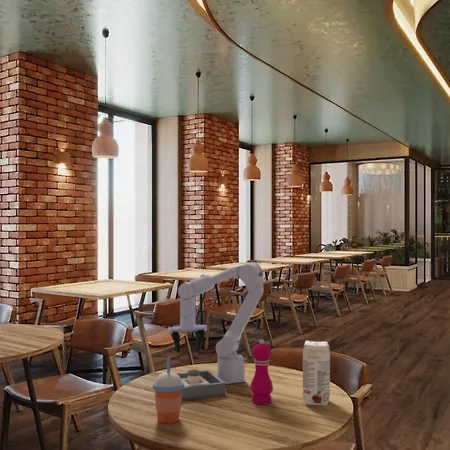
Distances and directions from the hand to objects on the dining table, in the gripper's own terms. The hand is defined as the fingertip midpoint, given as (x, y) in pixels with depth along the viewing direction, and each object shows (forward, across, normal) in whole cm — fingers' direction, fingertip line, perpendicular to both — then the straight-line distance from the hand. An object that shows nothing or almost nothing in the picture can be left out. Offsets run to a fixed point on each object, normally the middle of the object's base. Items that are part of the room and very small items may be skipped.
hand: (187, 351), depth 189 cm
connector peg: (+9, +3, +16) cm, 19 cm away
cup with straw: (+10, +18, +38) cm, 43 cm away
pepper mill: (+10, -14, +34) cm, 38 cm away
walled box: (+9, +3, +16) cm, 19 cm away
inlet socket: (+9, +3, +16) cm, 19 cm away
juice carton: (+10, -30, +41) cm, 52 cm away
